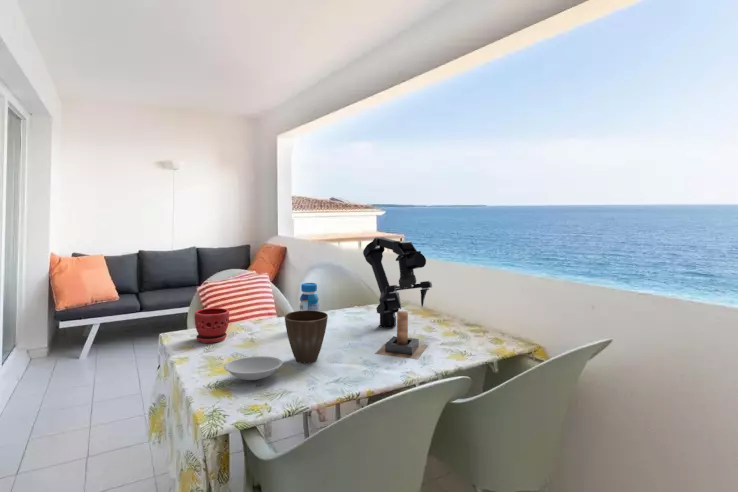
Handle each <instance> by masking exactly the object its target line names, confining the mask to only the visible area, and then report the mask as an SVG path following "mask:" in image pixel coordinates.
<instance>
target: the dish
mask: <svg viewBox="0 0 738 492" xmlns="http://www.w3.org/2000/svg"><path fill="white" fill-rule="evenodd" d="M282 366H283V361H282V360H281V359H279V358H277V357H274V356H273V357H272V356H267V355H264V356H262V355H260V356H259V355H258V356H257V355H256V356H246V357H240V358H236V359H232V360H231V361H227V362H226V363H225V364H224V366H223V368H224V370H225V371H227V372H228V373H229V374H231V375H232V376H233V377H235V378H237V379H240V380H245V381H252V380H255V381H257V380H261V379H265V378H268V377H269V376H271V375H273V374H274V373H275V372H276V371H277V370H278V369H279V368H281V367H282Z"/></svg>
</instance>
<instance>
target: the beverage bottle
mask: <svg viewBox="0 0 738 492" xmlns="http://www.w3.org/2000/svg"><path fill="white" fill-rule="evenodd" d="M300 285H301V286H300V287H301V293H302V294H301V295H300V298H299V301H300V303H299V311H307V310H310V311H320V308H319V307H320V303H319V299H320V298H319V295H318V294H317V293H316V292H317V291H318V290H317V289H318V285H317V283H315V282H305V283H301V284H300Z"/></svg>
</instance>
